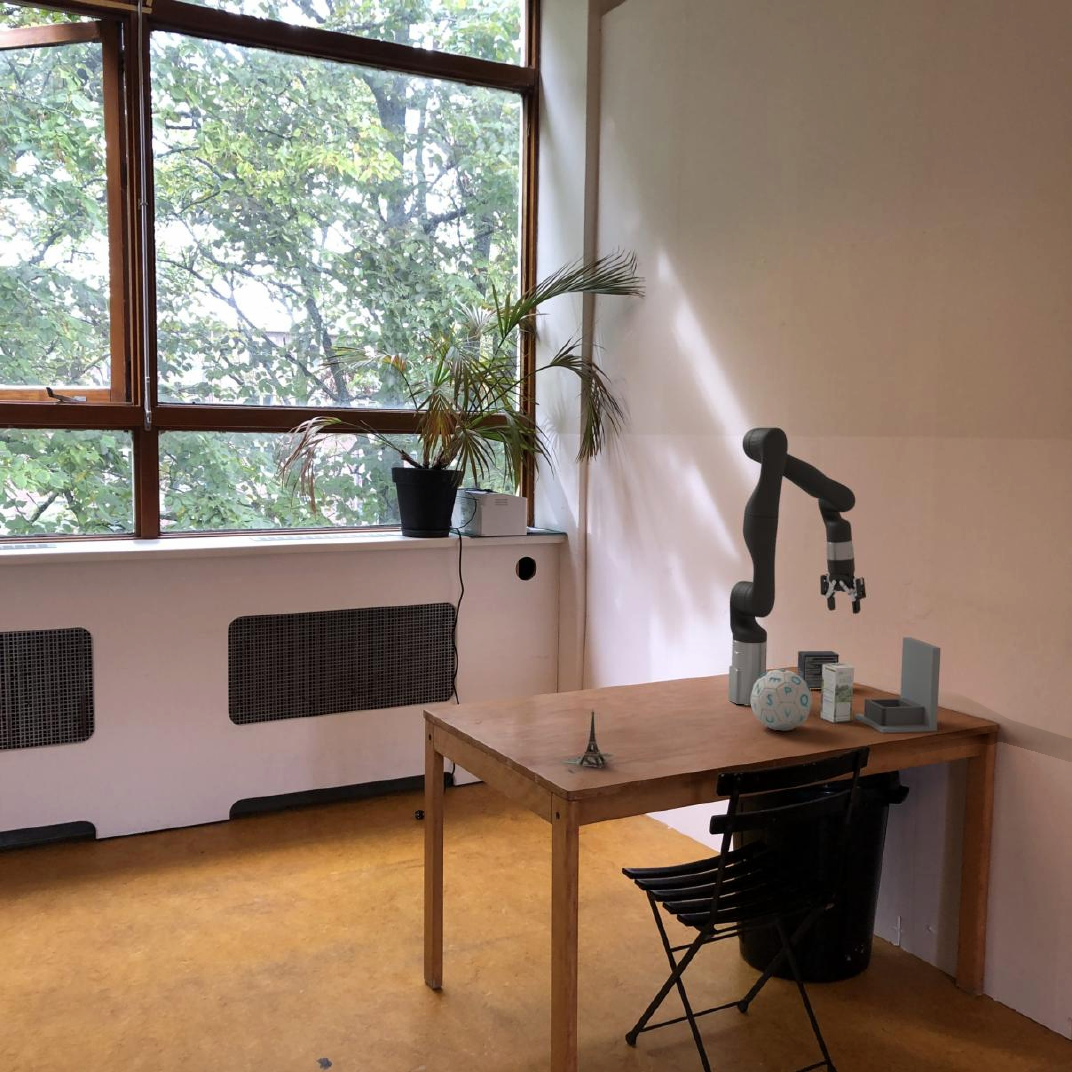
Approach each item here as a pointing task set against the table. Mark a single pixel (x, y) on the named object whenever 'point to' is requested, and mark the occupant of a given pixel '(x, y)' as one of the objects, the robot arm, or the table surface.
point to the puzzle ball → (781, 700)
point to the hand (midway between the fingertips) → (844, 611)
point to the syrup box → (837, 692)
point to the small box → (814, 665)
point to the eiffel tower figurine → (589, 752)
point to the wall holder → (909, 693)
